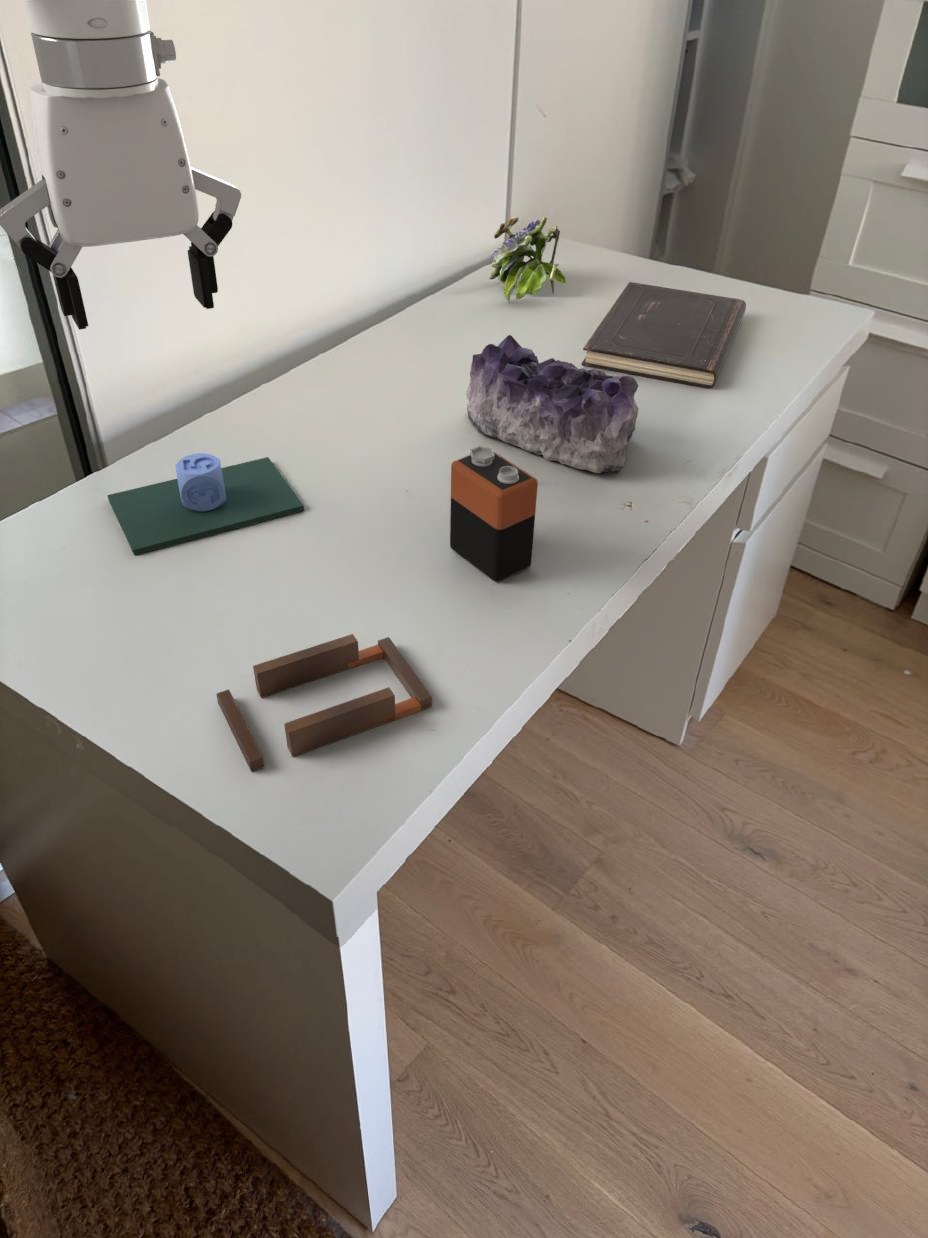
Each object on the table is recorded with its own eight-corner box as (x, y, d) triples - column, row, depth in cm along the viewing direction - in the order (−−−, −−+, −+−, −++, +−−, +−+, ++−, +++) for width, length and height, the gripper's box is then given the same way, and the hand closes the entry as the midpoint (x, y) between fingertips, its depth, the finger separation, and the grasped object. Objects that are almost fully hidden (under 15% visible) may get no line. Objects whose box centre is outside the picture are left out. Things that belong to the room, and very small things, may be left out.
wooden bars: (251, 772, 67) (246, 747, 65) (217, 702, 72) (212, 678, 70) (432, 706, 72) (432, 682, 70) (389, 646, 77) (388, 622, 75)
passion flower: (502, 319, 140) (508, 234, 140) (575, 317, 136) (581, 230, 136) (474, 297, 130) (480, 206, 129) (552, 294, 126) (559, 200, 125)
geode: (435, 438, 103) (439, 344, 97) (489, 408, 111) (495, 321, 106) (610, 487, 94) (625, 387, 89) (654, 451, 103) (670, 358, 98)
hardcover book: (581, 365, 117) (583, 347, 115) (627, 297, 133) (629, 281, 132) (713, 389, 113) (717, 371, 111) (743, 317, 129) (747, 300, 128)
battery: (484, 532, 89) (488, 436, 83) (533, 567, 85) (541, 469, 79) (447, 548, 87) (448, 451, 81) (495, 585, 83) (501, 486, 77)
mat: (134, 555, 85) (132, 549, 85) (108, 500, 92) (107, 494, 92) (304, 510, 91) (303, 505, 91) (268, 461, 98) (268, 456, 98)
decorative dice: (181, 492, 92) (174, 455, 90) (224, 486, 93) (218, 450, 91) (184, 514, 89) (176, 477, 87) (227, 509, 90) (221, 472, 88)
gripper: (207, 46, 70) (235, 280, 81) (-50, 60, 64) (18, 313, 75) (240, 64, 65) (266, 311, 76) (-35, 81, 59) (36, 350, 69)
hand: (143, 312), depth 75 cm, fingers open, 9 cm apart
